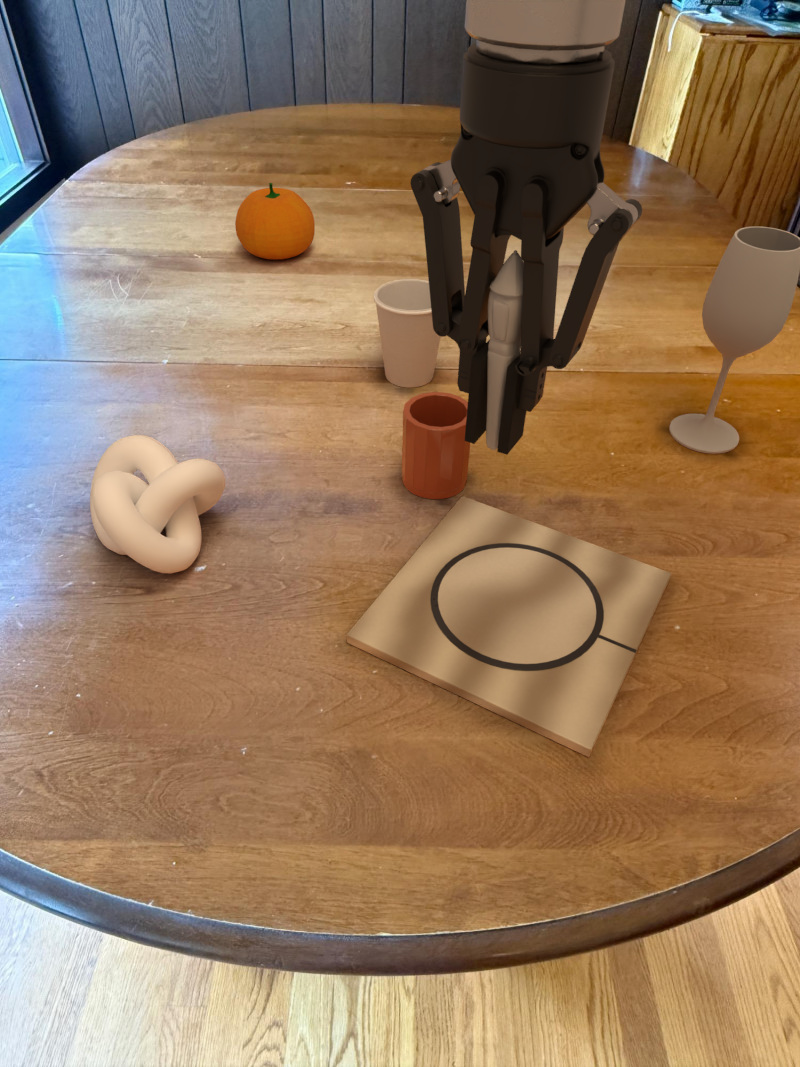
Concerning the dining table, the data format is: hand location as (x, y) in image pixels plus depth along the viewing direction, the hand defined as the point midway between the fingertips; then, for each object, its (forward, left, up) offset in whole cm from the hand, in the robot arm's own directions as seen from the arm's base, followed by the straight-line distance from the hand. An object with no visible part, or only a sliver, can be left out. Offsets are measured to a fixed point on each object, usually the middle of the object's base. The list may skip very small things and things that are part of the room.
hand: (493, 437), depth 54 cm
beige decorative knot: (+27, +8, -16) cm, 32 cm away
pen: (0, 0, -1) cm, 1 cm away
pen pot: (+11, -12, -16) cm, 23 cm away
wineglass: (-10, -34, -16) cm, 39 cm away
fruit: (+58, -49, -16) cm, 77 cm away
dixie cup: (+23, -28, -16) cm, 40 cm away
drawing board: (-3, 0, -16) cm, 17 cm away
